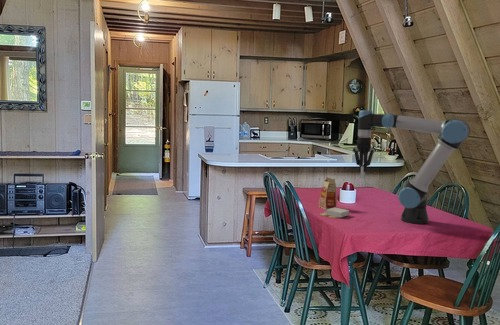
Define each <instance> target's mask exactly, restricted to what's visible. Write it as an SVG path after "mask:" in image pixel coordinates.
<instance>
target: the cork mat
mask: <svg viewBox="0 0 500 325" xmlns="http://www.w3.org/2000/svg"><path fill="white" fill-rule="evenodd" d="M318 215H319V216H323V217H328V218H332V219H336V220H337V219H339V217H335V216H330V215H326V211H324V212H322V213H319V214H318Z"/></svg>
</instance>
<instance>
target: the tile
mask: <svg viewBox="0 0 500 325" xmlns="http://www.w3.org/2000/svg"><path fill="white" fill-rule="evenodd" d="M325 212H326V215H330V216H335V217H339V218H344V217H346V216H350V210H348V209H344V208H339V207H336V208H335V207H334V208H331V209H327V210H325ZM339 218H338V219H339Z"/></svg>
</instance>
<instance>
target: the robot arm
mask: <svg viewBox="0 0 500 325" xmlns="http://www.w3.org/2000/svg"><path fill="white" fill-rule="evenodd" d="M357 125H358V128H357V129H358V130H357V131H358V132H357V144H356V146H355V147H354V148H353V149H352V150H353V153H354V157H355V163H356V165H357V166H359V169H358V170H359V172H360V178H362V179H363V178H364V179H365V178H366V172H367V171H368V170H367V168H368V166H371V164H372V158H373V156H374V154H375V152H376V150H375V149H374V148H372V144H371V143H372V130H373V129H372V128H387V129H388V128H389V129H390V128H391V129H392V128H394V129H402V130H406V131H415V132H420V133H427V134H434V135H438V137H437V143H436V145H435V146H434V148H433V149H432V150H431V152H430V154H429V155H428V157H427V158H426V160H425V161H424V163H423V164H422V165H421V167H420V168H419V170H418V171H417V173H415V176H414V177H413V178H411V179H409V180H408V181H407V182H406V184H405V186H404V187H403V188H402V189H400V190H399V192H398V196H397V197H398V201H399V203H400V205H402V207H404V208H403V211H402V213H401V215H400V220H401V221H403V222H405V223H408V224H409V223H410V224H415V225H416V224H418V225H425V224H424V223H426V224H428V223H429V214H428V212H427V202H428V195H429V194H428V193H429V186H430V185H431V183H432V181H433V180H434V178H435V177H436V176H437V174H438V173H439V172H440V170H441V168H442V167H443V166H444V164H445V163H446V162H447V160H448V158H450V156H451V154H452V153H453V151H458V149H459V148H460V147H461V145H462V144H463V142H464V141H465V140H467V138H469V136H470V134H471V127H470V125H469V123H468V122H466V121H465V120H462V119H452V120H450V119H446V120H442V121H441V120H437V119H428V118H421V117H415V116H408V115H407V116H406V115H399V114H393V113H373V110H371V109H370V110H366V109H365V110H364V109H361V110H359V112H358V124H357Z"/></svg>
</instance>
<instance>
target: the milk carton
mask: <svg viewBox="0 0 500 325" xmlns="http://www.w3.org/2000/svg"><path fill="white" fill-rule="evenodd" d="M325 178H326V179H325V180H324V182H323V185H322V189H321V192H320V196H319V200H318V207H319V208H320V207H321V208H320V209H322V208H323V210H324V209H325V210H324V211H326V210H327V209H331V208H334V207H335V208H338V206H337V204H338V201H337V200H338V197H337V194H338V193H337V184H336V178H330V177H327V176H325Z"/></svg>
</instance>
